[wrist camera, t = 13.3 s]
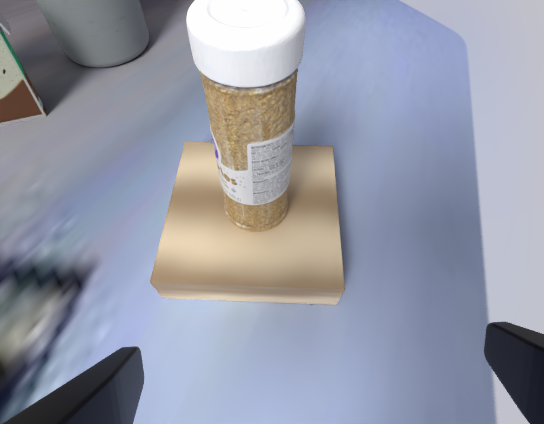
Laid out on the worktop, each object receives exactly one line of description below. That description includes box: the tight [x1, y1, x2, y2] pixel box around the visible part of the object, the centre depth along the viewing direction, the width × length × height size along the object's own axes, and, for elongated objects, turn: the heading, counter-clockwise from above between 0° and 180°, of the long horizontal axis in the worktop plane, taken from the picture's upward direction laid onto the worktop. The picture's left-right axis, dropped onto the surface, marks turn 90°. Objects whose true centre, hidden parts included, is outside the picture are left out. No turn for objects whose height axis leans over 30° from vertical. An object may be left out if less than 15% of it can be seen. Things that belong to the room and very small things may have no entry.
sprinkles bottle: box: [186, 0, 305, 232], centre depth 18 cm, size 5×5×13 cm
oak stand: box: [150, 142, 345, 305], centre depth 25 cm, size 12×12×3 cm
